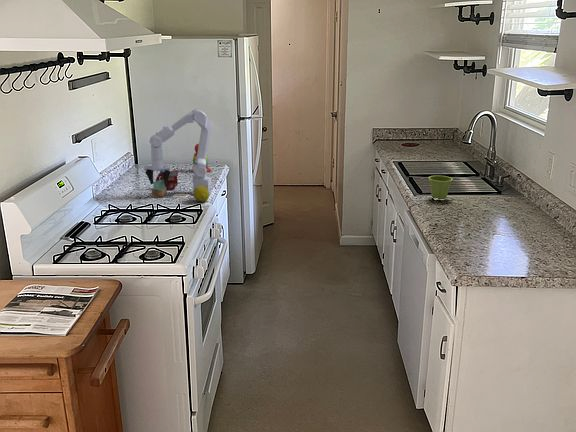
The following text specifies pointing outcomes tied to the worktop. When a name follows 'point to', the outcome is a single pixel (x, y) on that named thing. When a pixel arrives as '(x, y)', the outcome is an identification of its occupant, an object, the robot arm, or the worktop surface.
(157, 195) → the walnut block
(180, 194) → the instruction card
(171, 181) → the toy fire truck
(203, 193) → the lemon
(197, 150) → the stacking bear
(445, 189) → the plant pot
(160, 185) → the teal block
